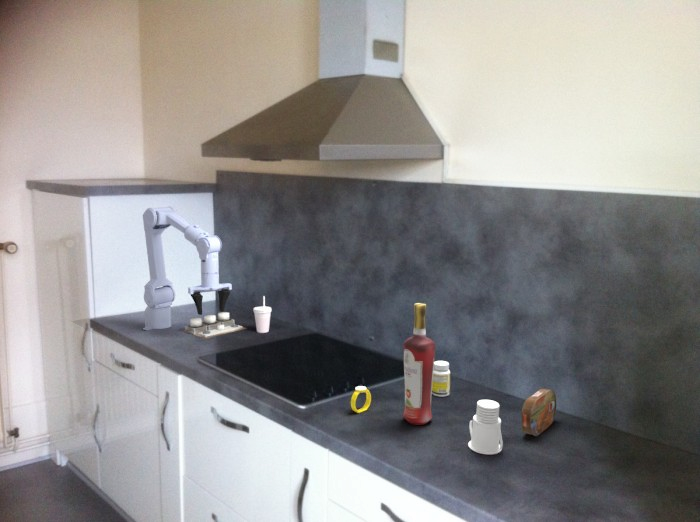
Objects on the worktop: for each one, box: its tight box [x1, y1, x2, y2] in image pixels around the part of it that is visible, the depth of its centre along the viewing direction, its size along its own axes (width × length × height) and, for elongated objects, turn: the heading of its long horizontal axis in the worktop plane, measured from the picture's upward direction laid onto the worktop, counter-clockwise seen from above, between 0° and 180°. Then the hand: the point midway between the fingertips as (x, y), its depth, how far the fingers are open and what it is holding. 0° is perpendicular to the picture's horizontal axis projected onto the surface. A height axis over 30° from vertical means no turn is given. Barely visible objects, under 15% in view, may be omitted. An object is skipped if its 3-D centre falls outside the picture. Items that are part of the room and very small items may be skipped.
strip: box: [198, 324, 244, 337], centre depth 225 cm, size 4×16×2 cm, turn 139°
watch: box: [350, 385, 372, 414], centre depth 157 cm, size 6×3×6 cm, turn 136°
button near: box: [189, 317, 203, 327], centre depth 224 cm, size 4×4×2 cm
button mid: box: [203, 314, 217, 324], centre depth 228 cm, size 4×4×2 cm
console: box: [181, 317, 248, 339], centre depth 227 cm, size 14×18×4 cm
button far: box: [217, 311, 230, 321], centre depth 233 cm, size 4×4×2 cm
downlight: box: [467, 399, 504, 456], centre depth 137 cm, size 8×7×10 cm
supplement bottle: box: [432, 360, 451, 398], centre depth 169 cm, size 5×5×8 cm
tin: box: [521, 388, 557, 437], centre depth 147 cm, size 15×3×8 cm, turn 142°
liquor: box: [402, 302, 436, 426], centre depth 150 cm, size 7×7×28 cm
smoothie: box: [252, 295, 273, 334], centre depth 225 cm, size 6×6×14 cm
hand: (210, 312), depth 216 cm, fingers open, 7 cm apart
